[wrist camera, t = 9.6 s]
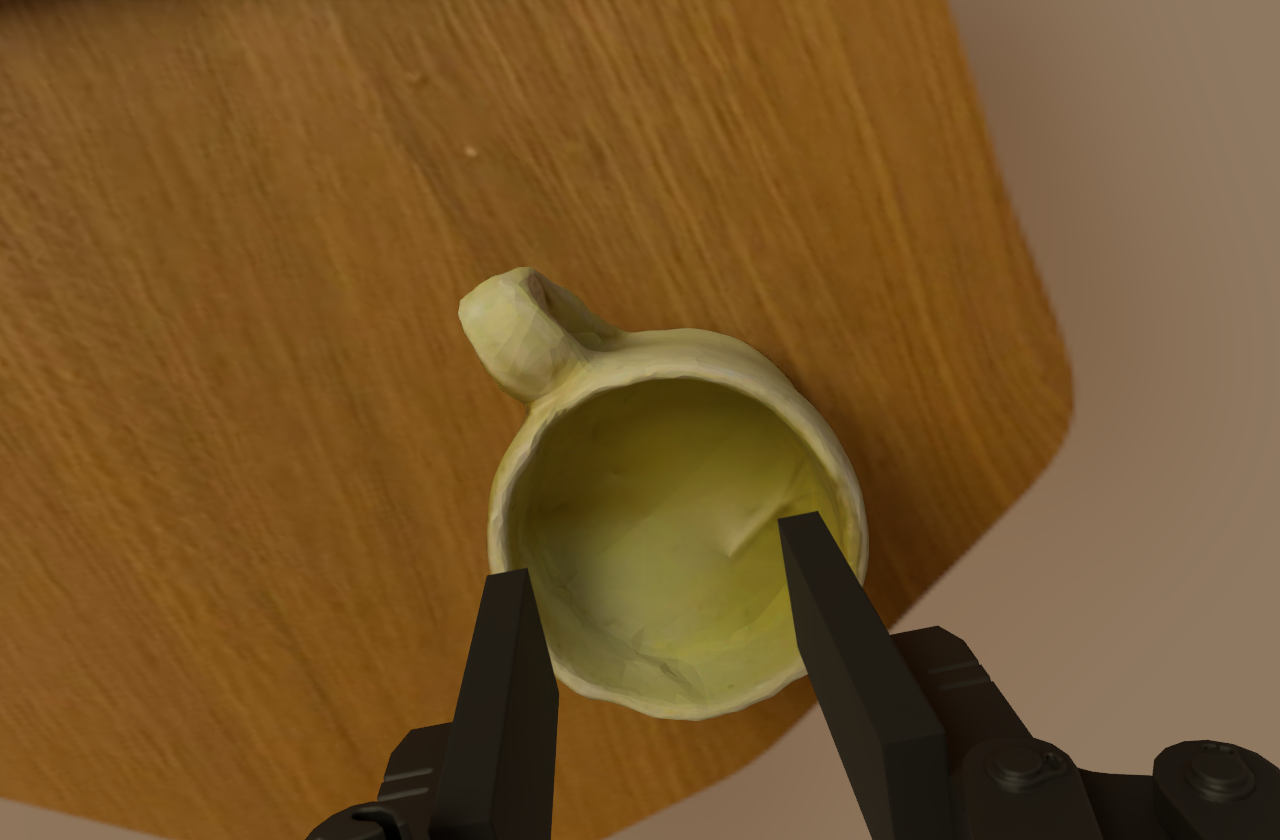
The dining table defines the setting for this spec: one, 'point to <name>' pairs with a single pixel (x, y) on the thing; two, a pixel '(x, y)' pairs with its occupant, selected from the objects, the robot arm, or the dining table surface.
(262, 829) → the dining table surface
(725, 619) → the mug
